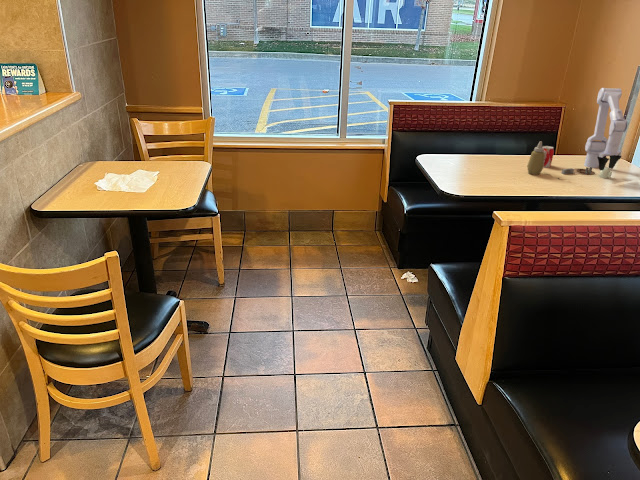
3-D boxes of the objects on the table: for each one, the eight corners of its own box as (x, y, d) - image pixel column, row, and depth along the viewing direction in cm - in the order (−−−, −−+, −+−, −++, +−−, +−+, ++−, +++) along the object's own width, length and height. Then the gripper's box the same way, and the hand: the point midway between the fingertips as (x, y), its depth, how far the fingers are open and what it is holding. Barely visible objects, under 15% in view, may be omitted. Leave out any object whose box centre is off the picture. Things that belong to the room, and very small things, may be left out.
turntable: (582, 169, 266) (584, 161, 265) (599, 175, 256) (602, 168, 254) (554, 172, 261) (555, 164, 259) (570, 179, 251) (572, 171, 249)
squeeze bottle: (541, 172, 261) (549, 140, 253) (541, 176, 255) (548, 144, 247) (526, 170, 264) (533, 138, 256) (525, 174, 258) (532, 142, 250)
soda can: (551, 169, 266) (556, 149, 261) (538, 169, 267) (542, 148, 262) (548, 166, 272) (553, 145, 267) (535, 165, 273) (540, 145, 268)
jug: (596, 178, 253) (599, 167, 250) (602, 177, 254) (605, 166, 252) (605, 181, 248) (608, 171, 245) (611, 181, 249) (615, 170, 246)
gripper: (610, 147, 237) (603, 172, 243) (629, 144, 243) (622, 169, 249) (598, 143, 243) (591, 169, 249) (617, 141, 248) (609, 165, 254)
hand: (605, 169), depth 249 cm, fingers open, 7 cm apart
